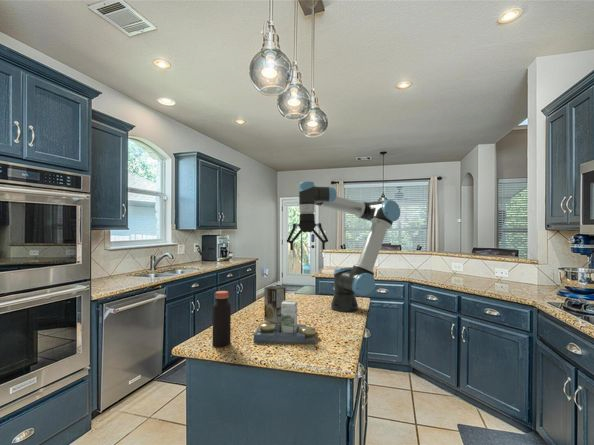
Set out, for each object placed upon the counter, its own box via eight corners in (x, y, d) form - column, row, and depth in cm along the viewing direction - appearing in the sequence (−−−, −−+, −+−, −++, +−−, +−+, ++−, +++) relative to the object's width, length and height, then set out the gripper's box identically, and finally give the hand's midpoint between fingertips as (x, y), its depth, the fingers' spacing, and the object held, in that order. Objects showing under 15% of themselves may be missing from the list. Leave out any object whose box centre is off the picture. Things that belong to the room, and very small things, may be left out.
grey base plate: (315, 331, 136) (315, 323, 136) (315, 344, 121) (315, 335, 121) (274, 331, 137) (274, 322, 137) (268, 343, 122) (268, 334, 122)
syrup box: (297, 335, 132) (297, 300, 132) (294, 340, 126) (294, 303, 126) (284, 334, 133) (284, 299, 133) (280, 339, 127) (280, 302, 128)
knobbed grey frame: (306, 331, 136) (306, 320, 137) (304, 344, 121) (304, 330, 122) (260, 330, 138) (260, 319, 138) (253, 342, 123) (253, 329, 123)
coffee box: (286, 320, 153) (286, 287, 154) (276, 323, 148) (276, 289, 149) (273, 317, 159) (273, 285, 160) (263, 319, 155) (263, 286, 155)
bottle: (211, 342, 123) (211, 291, 123) (228, 340, 125) (229, 289, 126) (213, 348, 117) (214, 294, 117) (232, 346, 119) (232, 292, 120)
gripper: (280, 213, 151) (281, 257, 151) (333, 212, 150) (333, 257, 149) (282, 214, 158) (282, 256, 158) (332, 213, 157) (332, 255, 157)
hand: (307, 256), depth 154 cm, fingers open, 13 cm apart
